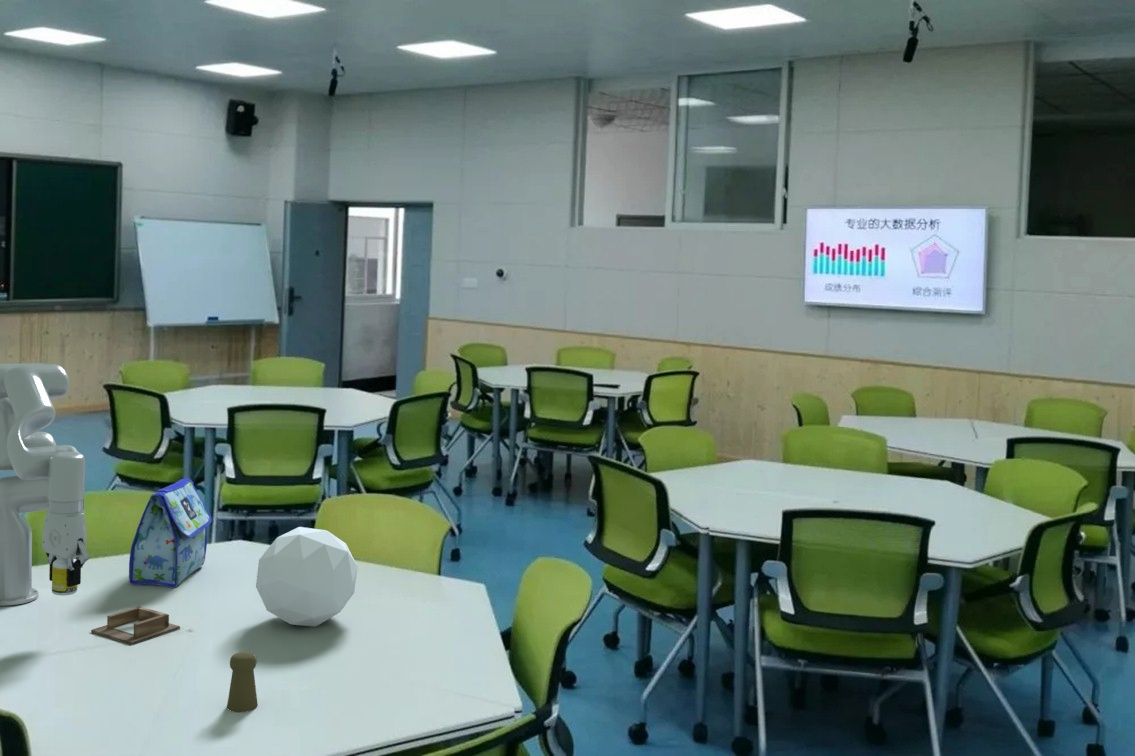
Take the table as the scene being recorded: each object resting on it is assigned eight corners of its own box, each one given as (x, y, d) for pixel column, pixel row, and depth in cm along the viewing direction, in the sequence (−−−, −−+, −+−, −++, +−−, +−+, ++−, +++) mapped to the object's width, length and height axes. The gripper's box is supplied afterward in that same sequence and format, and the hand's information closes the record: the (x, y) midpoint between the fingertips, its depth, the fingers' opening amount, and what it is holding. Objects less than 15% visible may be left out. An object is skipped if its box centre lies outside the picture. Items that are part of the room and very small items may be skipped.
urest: (91, 632, 259) (91, 617, 259) (140, 617, 271) (140, 602, 271) (131, 644, 252) (131, 629, 252) (179, 628, 265) (180, 614, 264)
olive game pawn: (230, 700, 225) (231, 648, 224) (260, 700, 225) (261, 648, 224) (223, 712, 219) (224, 658, 218) (254, 712, 219) (255, 659, 218)
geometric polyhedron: (305, 645, 282) (335, 555, 294) (357, 637, 264) (387, 542, 277) (224, 611, 269) (259, 519, 282) (274, 600, 252) (309, 502, 264)
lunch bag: (186, 589, 295) (188, 494, 292) (124, 586, 295) (125, 491, 292) (214, 566, 317) (215, 478, 314) (157, 563, 317) (158, 474, 314)
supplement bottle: (67, 597, 251) (68, 556, 249) (46, 594, 252) (47, 553, 250) (82, 590, 256) (83, 549, 255) (62, 587, 257) (62, 546, 256)
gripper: (27, 502, 252) (26, 578, 254) (76, 516, 244) (75, 594, 246) (56, 496, 258) (55, 570, 261) (105, 510, 250) (103, 586, 253)
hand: (64, 581), depth 253 cm, fingers closed on supplement bottle, 5 cm apart
